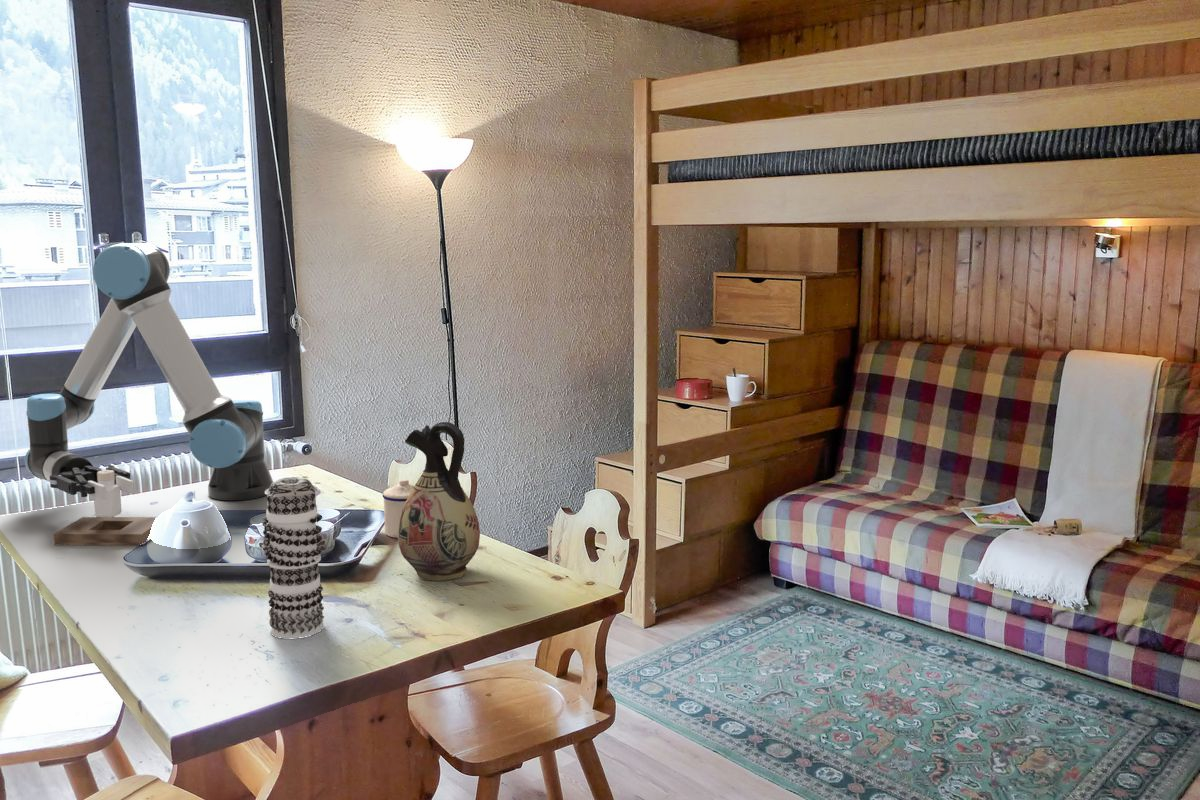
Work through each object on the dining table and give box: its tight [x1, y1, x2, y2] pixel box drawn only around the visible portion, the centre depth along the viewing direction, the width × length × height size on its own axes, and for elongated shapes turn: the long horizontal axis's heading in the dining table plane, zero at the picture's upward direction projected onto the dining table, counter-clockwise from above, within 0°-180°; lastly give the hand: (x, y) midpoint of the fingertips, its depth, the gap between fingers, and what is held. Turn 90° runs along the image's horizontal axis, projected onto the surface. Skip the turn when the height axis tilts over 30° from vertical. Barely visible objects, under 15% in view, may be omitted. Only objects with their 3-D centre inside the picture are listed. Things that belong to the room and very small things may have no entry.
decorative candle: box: [261, 476, 325, 638], centre depth 160 cm, size 9×9×25 cm
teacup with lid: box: [382, 478, 415, 539], centre depth 213 cm, size 12×9×12 cm
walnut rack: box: [52, 516, 156, 547], centre depth 209 cm, size 18×12×2 cm, turn 90°
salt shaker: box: [93, 469, 123, 518], centre depth 207 cm, size 4×4×10 cm
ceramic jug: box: [397, 421, 481, 582], centre depth 185 cm, size 17×15×30 cm
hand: (118, 490), depth 204 cm, fingers closed on salt shaker, 5 cm apart
